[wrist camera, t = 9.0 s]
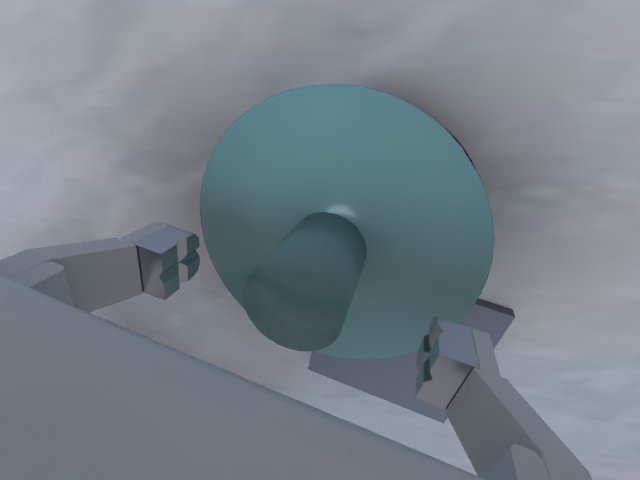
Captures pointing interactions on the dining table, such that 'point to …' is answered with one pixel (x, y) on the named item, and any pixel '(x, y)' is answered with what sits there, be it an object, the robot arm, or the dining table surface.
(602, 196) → the dining table surface
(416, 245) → the lid
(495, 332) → the mat
